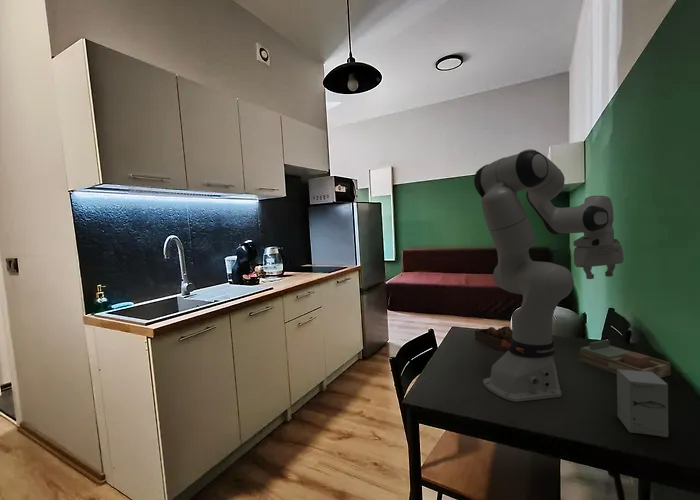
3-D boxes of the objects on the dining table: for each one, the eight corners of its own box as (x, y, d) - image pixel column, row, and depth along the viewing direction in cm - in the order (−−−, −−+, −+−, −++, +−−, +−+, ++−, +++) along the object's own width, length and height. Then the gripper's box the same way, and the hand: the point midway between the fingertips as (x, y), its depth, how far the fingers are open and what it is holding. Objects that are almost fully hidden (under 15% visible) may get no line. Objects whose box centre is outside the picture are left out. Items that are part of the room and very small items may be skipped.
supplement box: (629, 433, 77) (628, 380, 76) (616, 416, 84) (615, 368, 83) (670, 438, 74) (669, 384, 73) (653, 420, 81) (652, 370, 80)
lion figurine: (516, 347, 134) (515, 326, 134) (507, 350, 132) (506, 328, 131) (487, 338, 147) (486, 319, 147) (478, 341, 145) (477, 321, 145)
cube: (640, 374, 103) (639, 358, 103) (624, 368, 108) (624, 353, 108) (649, 371, 105) (649, 356, 104) (634, 366, 109) (633, 351, 109)
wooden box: (639, 383, 100) (639, 370, 99) (579, 361, 118) (579, 350, 118) (670, 375, 103) (670, 362, 103) (608, 355, 122) (608, 344, 122)
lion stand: (500, 351, 131) (499, 340, 131) (475, 340, 146) (474, 330, 146) (515, 348, 133) (515, 337, 133) (489, 337, 148) (489, 328, 148)
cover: (609, 359, 110) (609, 349, 109) (581, 349, 119) (580, 341, 119) (631, 354, 112) (630, 345, 112) (601, 345, 122) (601, 337, 122)
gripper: (610, 238, 126) (611, 274, 127) (569, 242, 120) (570, 279, 121) (628, 238, 120) (629, 275, 121) (586, 242, 114) (587, 281, 115)
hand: (599, 277), depth 121 cm, fingers open, 8 cm apart
